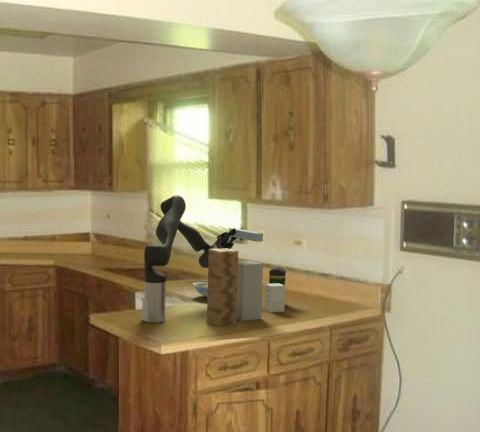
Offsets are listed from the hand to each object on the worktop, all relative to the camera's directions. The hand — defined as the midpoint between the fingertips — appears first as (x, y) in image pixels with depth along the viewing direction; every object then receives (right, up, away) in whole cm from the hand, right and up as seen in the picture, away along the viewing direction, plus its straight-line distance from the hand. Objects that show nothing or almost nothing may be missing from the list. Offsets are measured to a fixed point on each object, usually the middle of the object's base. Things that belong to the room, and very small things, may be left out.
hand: (238, 230), depth 335 cm
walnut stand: (-8, -40, -18) cm, 45 cm away
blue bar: (+3, -4, -5) cm, 7 cm away
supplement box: (+17, -39, +13) cm, 44 cm away
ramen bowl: (-13, -36, +41) cm, 56 cm away
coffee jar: (+19, -38, +28) cm, 50 cm away
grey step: (+3, -39, -4) cm, 40 cm away
